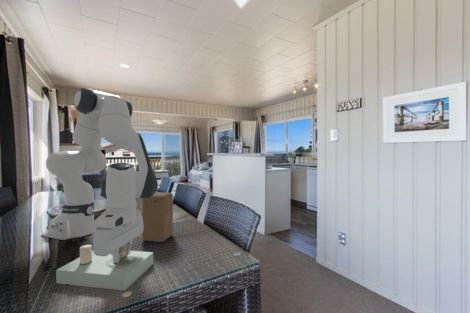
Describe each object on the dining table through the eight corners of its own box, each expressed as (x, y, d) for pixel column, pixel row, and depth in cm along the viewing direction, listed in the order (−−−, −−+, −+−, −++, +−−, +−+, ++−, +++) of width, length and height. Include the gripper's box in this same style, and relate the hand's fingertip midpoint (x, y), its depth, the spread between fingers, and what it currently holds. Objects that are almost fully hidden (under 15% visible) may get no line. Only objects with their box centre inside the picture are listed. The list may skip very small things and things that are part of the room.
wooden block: (162, 243, 100) (162, 196, 100) (141, 241, 102) (141, 195, 102) (173, 235, 110) (173, 192, 109) (153, 233, 112) (153, 191, 111)
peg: (113, 271, 73) (112, 243, 73) (120, 266, 77) (119, 239, 76) (123, 272, 73) (122, 243, 73) (129, 266, 76) (128, 239, 76)
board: (56, 283, 69) (56, 253, 69) (96, 259, 85) (96, 234, 85) (124, 290, 66) (124, 258, 66) (153, 263, 82) (153, 238, 81)
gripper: (131, 206, 85) (132, 244, 85) (88, 223, 65) (88, 273, 65) (148, 207, 84) (148, 245, 84) (109, 224, 64) (109, 275, 64)
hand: (122, 257), depth 75 cm, fingers closed on peg, 3 cm apart
